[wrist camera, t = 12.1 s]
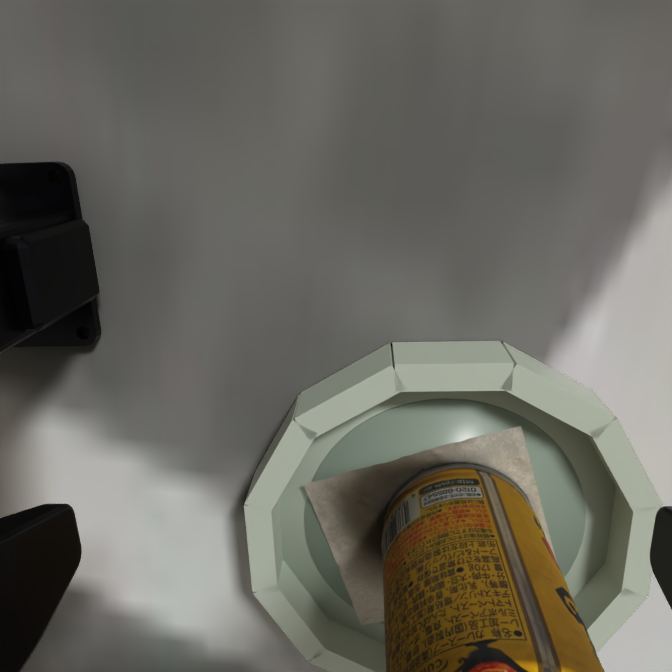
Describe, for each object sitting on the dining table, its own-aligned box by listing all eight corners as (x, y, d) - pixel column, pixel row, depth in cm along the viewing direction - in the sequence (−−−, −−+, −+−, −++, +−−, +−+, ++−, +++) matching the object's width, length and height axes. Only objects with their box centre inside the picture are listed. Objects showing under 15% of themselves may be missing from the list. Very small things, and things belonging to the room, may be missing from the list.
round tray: (270, 654, 27) (262, 698, 25) (243, 344, 22) (230, 366, 20) (609, 660, 26) (629, 706, 24) (656, 338, 21) (688, 360, 19)
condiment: (560, 577, 24) (732, 975, 13) (360, 622, 25) (354, 1020, 14) (519, 422, 22) (682, 733, 11) (303, 479, 23) (241, 812, 12)
